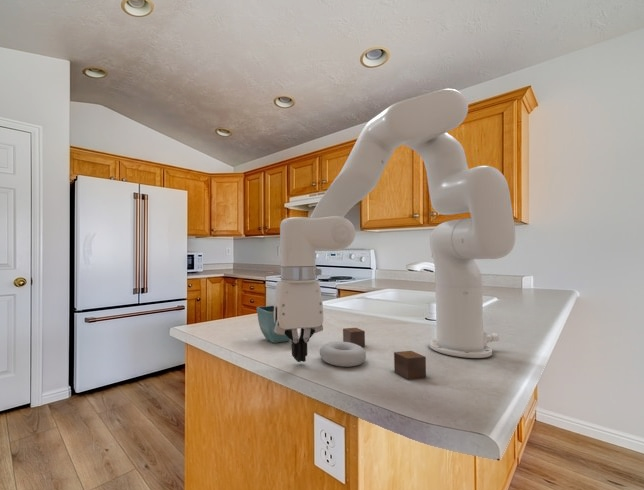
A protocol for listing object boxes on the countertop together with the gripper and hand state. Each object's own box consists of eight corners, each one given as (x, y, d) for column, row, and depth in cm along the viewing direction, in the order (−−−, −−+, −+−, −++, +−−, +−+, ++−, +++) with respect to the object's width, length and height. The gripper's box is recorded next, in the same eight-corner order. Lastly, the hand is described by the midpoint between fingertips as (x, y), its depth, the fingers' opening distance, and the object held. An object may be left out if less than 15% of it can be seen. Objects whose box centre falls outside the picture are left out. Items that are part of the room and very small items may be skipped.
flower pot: (269, 346, 83) (268, 311, 83) (256, 338, 91) (255, 306, 91) (298, 342, 86) (298, 309, 86) (283, 334, 94) (283, 304, 94)
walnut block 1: (356, 342, 85) (356, 327, 85) (365, 346, 81) (364, 331, 81) (343, 343, 84) (342, 328, 84) (350, 347, 80) (350, 332, 80)
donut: (319, 368, 67) (370, 370, 65) (319, 351, 67) (369, 353, 65) (319, 353, 77) (362, 354, 75) (318, 339, 77) (362, 340, 75)
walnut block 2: (411, 370, 65) (411, 350, 65) (426, 377, 61) (425, 356, 61) (394, 372, 64) (393, 352, 64) (408, 379, 60) (407, 358, 60)
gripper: (322, 273, 74) (324, 352, 74) (260, 274, 71) (261, 357, 71) (338, 274, 67) (339, 362, 66) (269, 276, 64) (270, 369, 63)
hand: (299, 359), depth 69 cm, fingers closed
